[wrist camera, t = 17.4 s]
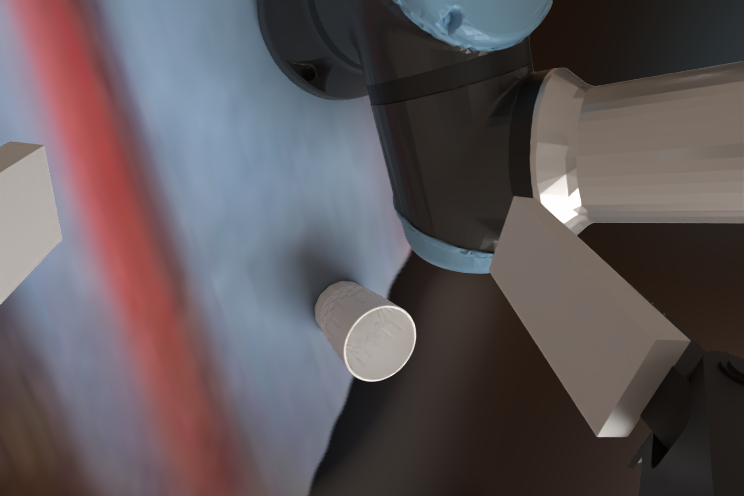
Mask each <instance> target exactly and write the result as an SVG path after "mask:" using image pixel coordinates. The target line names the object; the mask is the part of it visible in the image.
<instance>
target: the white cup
mask: <svg viewBox="0 0 744 496" xmlns="http://www.w3.org/2000/svg"><path fill="white" fill-rule="evenodd" d="M315 320H316V322H317V324H318V326H319V327H320V329H321V331H322V332H323V333H324V336H325V338H326V339H327V340H328V342H329V343H330V345H331V346H332V348H333V349H334V351H335V352H336V353H337V355H338V356H339V358H340V359H341V360H342V362H343V363H344V364H345V366H346V367H347V368H348V370H349V371H350V372H351V373H352V374H353V375H354V376H355V377H357V378H359V379H361V380H364V381H379V380H382V379H385V378H388V377H390V376H391V375H393V374H395V373H396V372H397V371H399V370H400V369H401V368H402V367H403V366H404V364H405V363H406V362H407V360H408V359H409V357H410V355H411V354H412V351H413V349H414V345H415V340H416V329H415V325H414V322H413V320H412V318H411V317H410V315H409V314H408V313H407V312H406V311H405V310H403V309H402V308H400V307H398V306H397V305H395V304H393V303H392V302H390V301H388V300H387V299H385V298H383V297H382V296H380V295H378V294H376V293H374V292H373V291H371V290H369V289H366V288H363V287H361V286H360V285H358V284H357V283H355V282H352V281H340V282H337V283H335V284H332V285H330V286H328V287H327V288H326V289H325V290H324V291H323V292H322V293H321V294H320V296H319V298H318V301H317V303H316V305H315Z"/></svg>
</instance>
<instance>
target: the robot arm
mask: <svg viewBox="0 0 744 496" xmlns="http://www.w3.org/2000/svg"><path fill="white" fill-rule="evenodd" d="M552 3H553V0H258V16H259V23H260V28H261V32H262V35H263V38H264V41H265V44H266V46H267V48H268V50H269V52H270V54H271V56H272V58H273V59H274V61H275V63H276V64H277V65H278V67H279V68H280V69H281V71H282V72H283V73H284V74H285V75H286V76H287V77H288V78H289V79H290V80H291V81H292V82H293V83H295V84H296V85H297V86H298V87H300V88H301V89H303V90H305V91H306V92H308V93H310V94H312V95H315V96H318V97H321V98H325V99H330V100H348V99H355V98H360V97H363V96H366V95H369V98H370V102H371V108H372V112H373V116H374V120H375V124H376V128H377V132H378V136H379V140H380V144H381V148H382V151H383V155H384V159H385V163H386V167H387V171H388V175H389V179H390V183H391V187H392V191H393V204H394V209H395V210H396V212H397V216H398V217H399V218H400V220H401V223H402V226H403V229H404V233H405V236H406V239H407V241H408V243H409V245H410V246H411V248H412V249H413V250H414V251H415V252H416V253H417V254H418V255H419V256H420V257H421V258H423V259H424V260H426V261H428V262H429V263H432V264H434V265H436V266H439V267H442V268H445V269H449V270H453V271H458V272H466V273H491V274H492V276H493V277H494V279H495V281H496V282H497V284H498V285H499V287H500V288H501V290H502V291H503V293H504V295H505V296H506V298H507V299H508V301H509V302H510V304H511V305H512V307H513V308H514V310H515V312H516V313H517V315H518V316H519V318H520V319H521V321H522V322H523V324H524V325H525V327H526V328H527V330H528V332H529V333H530V335H531V336H532V338H533V339H534V341H535V342H536V344H537V345H538V347H539V348H540V350H541V351H542V353H543V355H544V356H545V358H546V359H547V361H548V362H549V364H550V365H551V367H552V369H553V370H554V371H555V373H556V375H557V376H558V378H559V379H560V381H561V382H562V384H563V385H564V387H565V389H566V390H567V391H568V393H569V395H570V396H571V398H572V399H573V401H574V402H575V404H576V405H577V407H578V408H579V410H580V412H581V413H582V415H583V416H584V418H585V419H586V421H587V422H588V424H589V425H590V427H591V429H592V430H593V432H594V433H595V435H596V436H597V437H628V435H629V434H630V432H631V431H632V429H633V428H634V426H635V425H636V423H637V422H638V420H639V419H640V417H642V419H643V420H644V421H645V423H646V424H647V425H648V426H649V428H650V429H651V432H650V433H649V435H648V436H647V437H646V439H645V440H644V442H643V443H642V445H641V446H640V448H639V449H638V450H637V452H636V454H635V455H634V456H633V458H632V459H631V461H630V463H629V465H628V467H630V468H632V469H634V467H635V466H636V464H637V463H640V462H642V464H641V475H640V486H639V496H744V359H742V358H740V357H738V356H735V355H732V354H729V353H726V352H721V351H709V352H707V351H705V350H704V349H703V348H702V347H701V346H700V345H699V344H698V343H697V342H696V341H694V340H693V339H692V338H691V337H690V336H689V335H688V334H687V333H685V331H684V330H682V329H681V328H680V327H679V326H678V325H677V324H676V323H675V322H673V320H671V319H670V318H669V317H665V313H664V312H663V311H661V310H660V309H659V308H658V307H657V306H653V303H652V302H651V300H649V299H648V298H647V297H646V296H645V295H644V294H643V293H642V292H641V291H640V290H638V289H636V288H635V287H633V286H632V285H630V284H628V283H627V282H626V281H625V280H624V279H623V278H622V277H621V276H620V275H619V274H618V273H617V272H615V271H614V270H613V269H612V268H611V267H610V266H609V265H608V264H607V263H605V262H604V261H603V260H602V259H601V258H600V257H599V256H598V255H597V254H596V253H595V252H594V251H593V250H592V249H590V248H589V247H588V246H587V245H586V244H585V243H584V242H583V241H582V240H581V239H580V238H578V237H577V236H576V235H577V234H579V233H580V232H581V231H582V230H583V229H584V228H585V227H586V226H588V225H589V224H592V223H594V222H634V223H640V222H642V223H643V222H644V223H648V222H649V223H650V222H651V223H653V222H654V223H744V61H742V62H736V63H730V64H724V65H719V66H714V67H707V68H701V69H695V70H689V71H684V72H678V73H672V74H666V75H661V76H655V77H648V78H643V79H637V80H631V81H626V82H619V83H614V84H608V85H602V86H596V87H594V86H591V85H588V84H586V83H585V82H583V81H582V80H581V79H580V78H578V77H577V76H576V75H574V74H573V73H572V72H571V71H569V70H568V69H566V68H555V69H550V70H546V71H540V72H533V66H532V60H531V51H530V43H529V35H530V34H531V32H532V31H533V30H534V29H535V28H536V27H537V26H538V25H539V24H540V23H541V22H542V21H543V19H544V18H545V16H546V15H547V13H548V12H549V10H550V7H551V5H552ZM61 240H62V235H61V230H60V225H59V220H58V215H57V209H56V204H55V199H54V194H53V189H52V183H51V178H50V173H49V168H48V162H47V157H46V152H45V147H44V145H37V144H28V143H19V142H9V143H7V144H5V145H3V146H1V147H0V304H1V303H2V302H3V301H4V300H5V299H6V298H7V297H8V296H9V295H10V294H11V293H12V292H13V291H14V290H15V288H16V287H17V286H18V285H19V284H20V283H21V282H22V281H23V280H24V279H25V278H26V277H27V276H28V275H29V274H30V273H31V272H32V270H33V269H34V268H35V267H36V266H37V265H38V264H39V263H40V262H41V261H42V260H43V259H44V258H45V257H46V256H47V255H48V254H49V253H50V251H51V250H52V249H53V248H54V247H55V246H56V245H57V244H58V243H59V242H60V241H61Z"/></svg>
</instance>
